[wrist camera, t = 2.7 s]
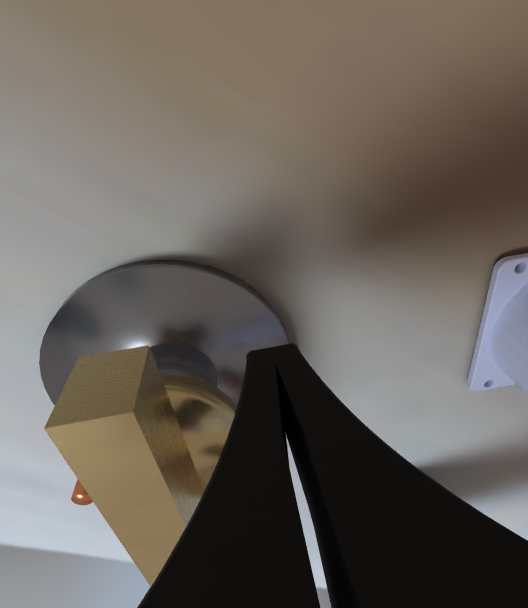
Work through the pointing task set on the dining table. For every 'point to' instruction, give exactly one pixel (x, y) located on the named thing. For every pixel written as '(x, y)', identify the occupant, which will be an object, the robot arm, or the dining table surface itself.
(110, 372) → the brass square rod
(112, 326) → the post base
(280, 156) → the dining table surface
